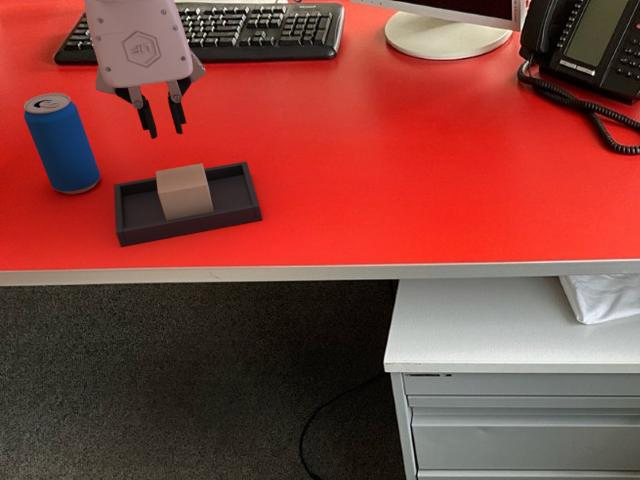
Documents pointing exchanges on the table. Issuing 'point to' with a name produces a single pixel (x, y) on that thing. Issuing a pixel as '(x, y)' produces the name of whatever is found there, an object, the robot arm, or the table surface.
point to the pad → (184, 191)
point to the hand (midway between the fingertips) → (166, 130)
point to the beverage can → (61, 143)
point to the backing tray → (150, 222)
